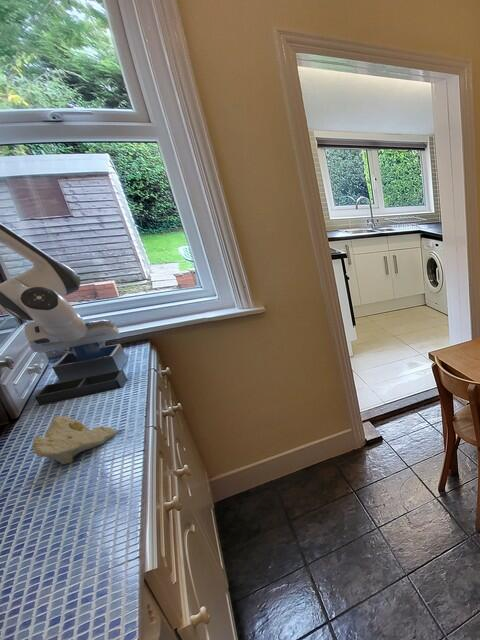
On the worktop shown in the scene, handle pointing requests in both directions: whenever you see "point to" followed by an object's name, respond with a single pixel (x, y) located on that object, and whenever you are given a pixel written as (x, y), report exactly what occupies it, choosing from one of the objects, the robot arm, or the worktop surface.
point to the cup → (86, 352)
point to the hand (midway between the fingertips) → (85, 348)
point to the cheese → (69, 439)
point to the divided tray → (81, 387)
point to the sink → (90, 364)
